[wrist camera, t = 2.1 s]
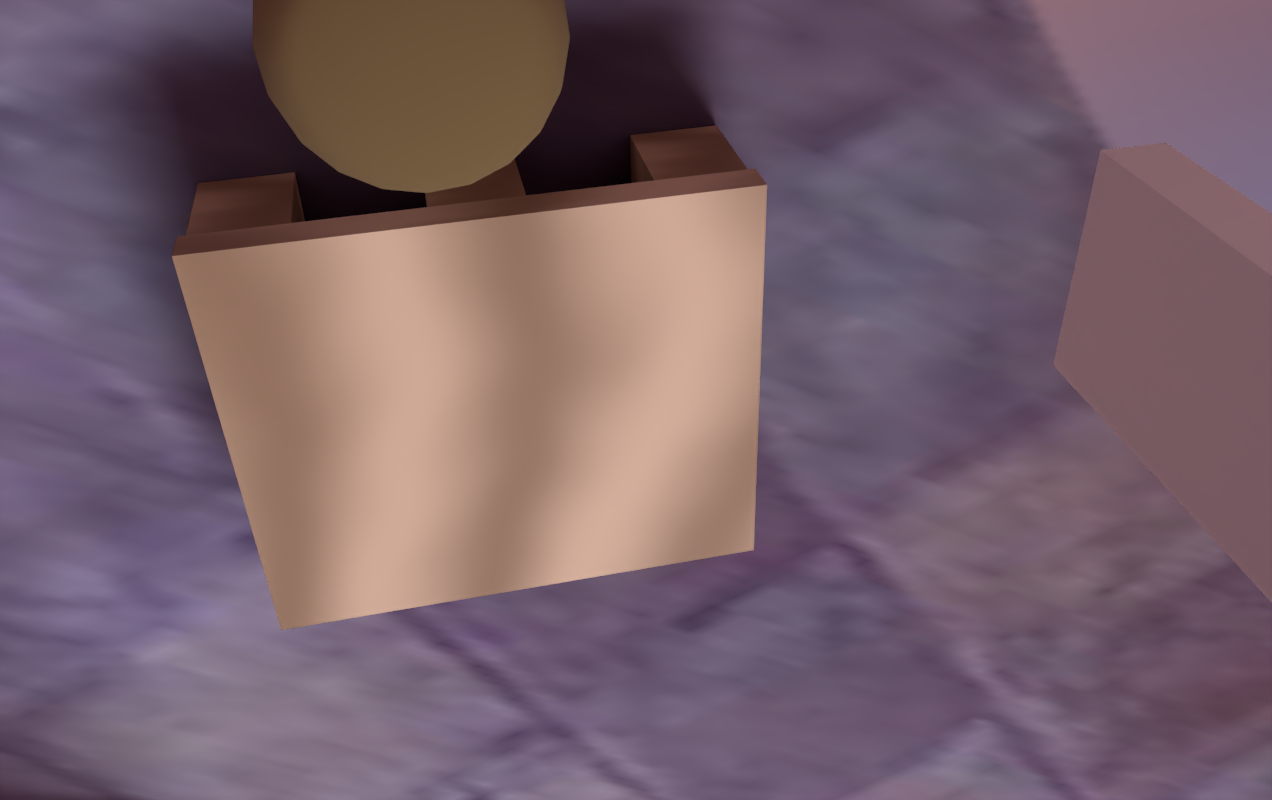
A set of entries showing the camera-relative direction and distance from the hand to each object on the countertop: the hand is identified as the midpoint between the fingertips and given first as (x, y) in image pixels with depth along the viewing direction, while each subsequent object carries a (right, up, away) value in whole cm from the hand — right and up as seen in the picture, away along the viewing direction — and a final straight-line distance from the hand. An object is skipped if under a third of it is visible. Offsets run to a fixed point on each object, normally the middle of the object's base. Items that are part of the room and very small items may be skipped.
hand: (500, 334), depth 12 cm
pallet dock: (-3, +1, +22) cm, 22 cm away
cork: (-4, +11, +15) cm, 19 cm away
